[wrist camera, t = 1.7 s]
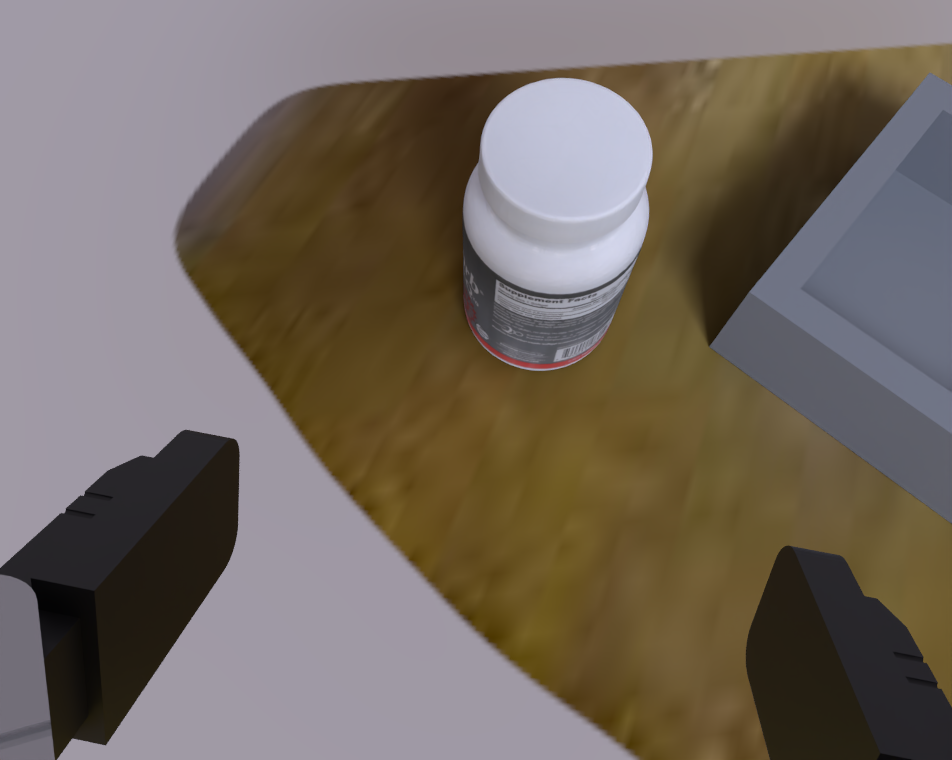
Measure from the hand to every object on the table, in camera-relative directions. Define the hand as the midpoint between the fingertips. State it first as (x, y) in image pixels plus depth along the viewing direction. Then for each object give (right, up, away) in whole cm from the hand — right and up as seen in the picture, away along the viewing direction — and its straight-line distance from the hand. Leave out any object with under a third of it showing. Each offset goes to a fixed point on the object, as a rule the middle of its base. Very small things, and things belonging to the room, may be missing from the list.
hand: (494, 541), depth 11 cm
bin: (+17, +4, +18) cm, 25 cm away
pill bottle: (+2, +5, +19) cm, 20 cm away
